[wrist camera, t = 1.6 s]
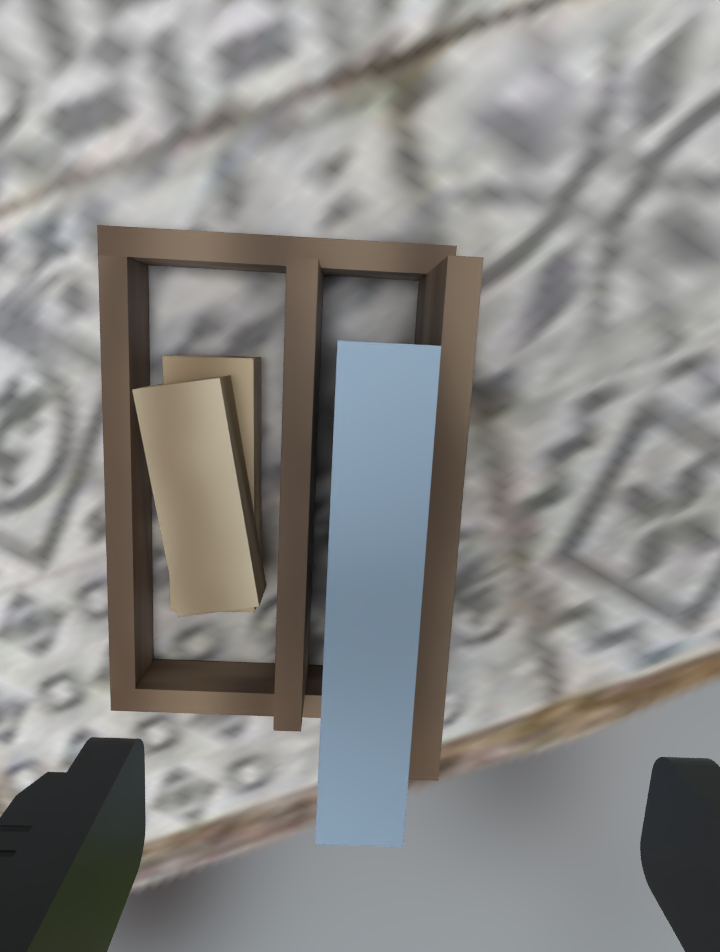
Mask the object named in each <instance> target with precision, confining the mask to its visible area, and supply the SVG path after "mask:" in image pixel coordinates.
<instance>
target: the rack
mask: <svg viewBox="0 0 720 952" xmlns="http://www.w3.org/2000/svg"><path fill="white" fill-rule="evenodd" d="M97 232H98V267H99V303H100V338H101V374H102V409H103V445H104V480H105V516H106V551H107V586H108V622H109V657H110V693H111V711H140V712H168V713H197V714H225V715H254V716H274V730H277V731H301V724H302V717H311V718H321V703H322V681H323V666H321V665H308V663H309V637H310V612H311V586H312V561H313V535H314V510H315V484H316V459H317V433H318V408H319V382H320V357H321V331H322V306H323V280H324V275H333V276H350V277H368V278H386V279H403V280H419V284H418V299H417V314H416V328H415V343H414V344H415V345H433V346H441V356H440V369H439V382H438V395H437V408H436V422H435V435H434V448H433V461H432V474H431V487H430V500H429V514H428V527H427V540H426V553H425V566H424V579H423V592H422V606H421V619H420V632H419V645H418V658H417V671H416V684H415V697H414V711H413V724H412V737H411V750H410V763H409V776H408V779H410V780H438V776H439V765H440V753H441V742H442V730H443V719H444V707H445V695H446V684H447V672H448V661H449V649H450V638H451V626H452V615H453V603H454V592H455V580H456V569H457V557H458V545H459V534H460V522H461V511H462V499H463V488H464V476H465V465H466V453H467V442H468V430H469V419H470V407H471V395H472V384H473V372H474V361H475V349H476V338H477V326H478V315H479V303H480V292H481V280H482V268H483V257H466V256H456V248H457V246H448V245H430V244H413V243H396V242H379V241H362V240H345V239H327V238H310V237H293V236H276V235H259V234H242V233H224V232H207V231H190V230H173V229H156V228H139V227H121V226H104V225H97ZM148 265H155V266H173V267H191V268H209V269H226V270H244V271H262V272H279V273H286V302H285V338H284V373H283V409H282V445H281V481H280V516H279V552H278V588H277V623H276V659H275V664H268V663H241V662H215V661H188V660H162V659H153V587H152V512H151V481H150V476H149V471H148V466H147V461H146V456H145V451H144V446H143V441H142V436H141V431H140V426H139V421H138V416H137V411H136V406H135V401H134V396H133V391H132V389H137V388H142V387H147V386H150V362H149V287H148Z"/></svg>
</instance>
